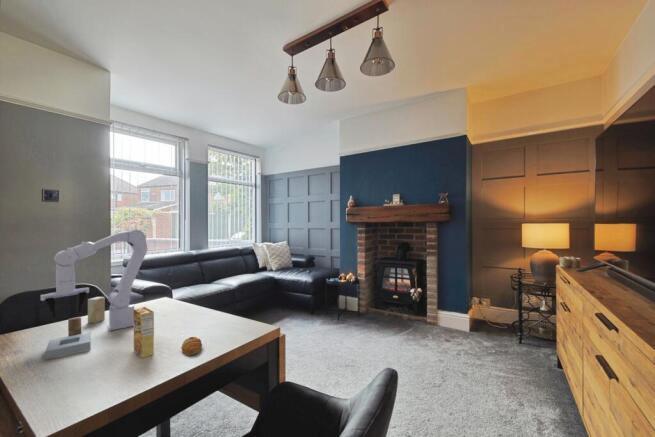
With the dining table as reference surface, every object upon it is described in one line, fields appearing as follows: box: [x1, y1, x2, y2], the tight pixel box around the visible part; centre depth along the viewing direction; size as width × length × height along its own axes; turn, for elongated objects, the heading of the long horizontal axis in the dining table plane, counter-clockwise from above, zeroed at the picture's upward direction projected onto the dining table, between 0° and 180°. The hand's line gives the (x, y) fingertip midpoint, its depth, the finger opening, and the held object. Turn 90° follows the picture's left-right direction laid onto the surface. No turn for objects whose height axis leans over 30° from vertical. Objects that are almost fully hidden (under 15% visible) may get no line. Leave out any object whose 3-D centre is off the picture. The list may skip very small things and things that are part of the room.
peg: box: [67, 316, 82, 337], centre depth 119 cm, size 4×4×8 cm
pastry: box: [180, 336, 203, 357], centre depth 106 cm, size 9×7×4 cm
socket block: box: [44, 332, 92, 361], centre depth 109 cm, size 12×12×3 cm
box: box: [87, 296, 106, 324], centre depth 139 cm, size 5×4×11 cm
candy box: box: [133, 306, 155, 359], centre depth 105 cm, size 9×4×15 cm, turn 50°
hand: (66, 314), depth 118 cm, fingers open, 7 cm apart
